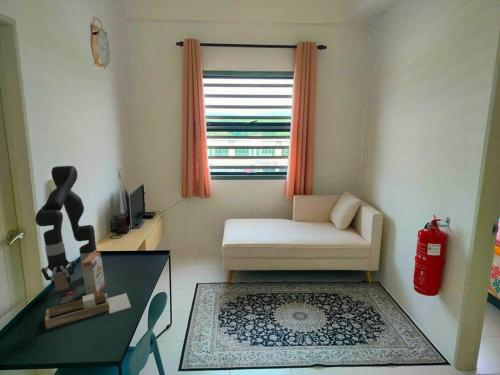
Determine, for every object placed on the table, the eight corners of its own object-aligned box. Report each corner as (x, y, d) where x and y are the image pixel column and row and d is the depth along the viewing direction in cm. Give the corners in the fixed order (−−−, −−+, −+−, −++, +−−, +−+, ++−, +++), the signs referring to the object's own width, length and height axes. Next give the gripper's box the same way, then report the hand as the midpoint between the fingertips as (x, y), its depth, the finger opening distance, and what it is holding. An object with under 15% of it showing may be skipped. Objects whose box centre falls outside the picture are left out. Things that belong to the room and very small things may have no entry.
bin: (48, 316, 152) (46, 309, 152) (107, 299, 165) (106, 292, 164) (46, 329, 142) (44, 321, 141) (109, 310, 155) (108, 302, 154)
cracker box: (98, 297, 168) (92, 261, 164) (86, 299, 167) (80, 262, 163) (106, 285, 181) (100, 251, 178) (95, 286, 181) (89, 252, 177)
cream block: (84, 308, 157) (82, 296, 156) (95, 305, 160) (93, 293, 159) (85, 314, 152) (82, 301, 151) (96, 311, 155) (94, 298, 153)
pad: (106, 299, 165) (106, 298, 165) (126, 294, 170) (126, 293, 170) (109, 314, 151) (109, 313, 151) (131, 307, 156) (130, 306, 156)
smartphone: (77, 288, 178) (73, 301, 165) (77, 290, 178) (74, 302, 165) (62, 292, 176) (58, 305, 162) (62, 293, 176) (58, 306, 162)
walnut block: (56, 285, 150) (53, 272, 148) (68, 282, 152) (65, 269, 151) (56, 291, 145) (53, 277, 143) (68, 288, 147) (65, 274, 146)
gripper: (73, 245, 152) (78, 277, 155) (38, 252, 145) (44, 286, 148) (73, 250, 145) (79, 283, 148) (36, 258, 138) (43, 292, 142)
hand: (61, 284), depth 148 cm, fingers closed on walnut block, 5 cm apart
